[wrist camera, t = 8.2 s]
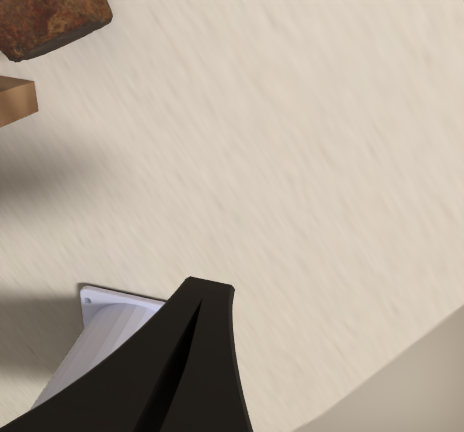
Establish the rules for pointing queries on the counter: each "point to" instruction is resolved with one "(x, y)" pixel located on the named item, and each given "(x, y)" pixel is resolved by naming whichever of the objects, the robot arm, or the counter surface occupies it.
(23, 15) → the brick
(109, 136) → the counter surface
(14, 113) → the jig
